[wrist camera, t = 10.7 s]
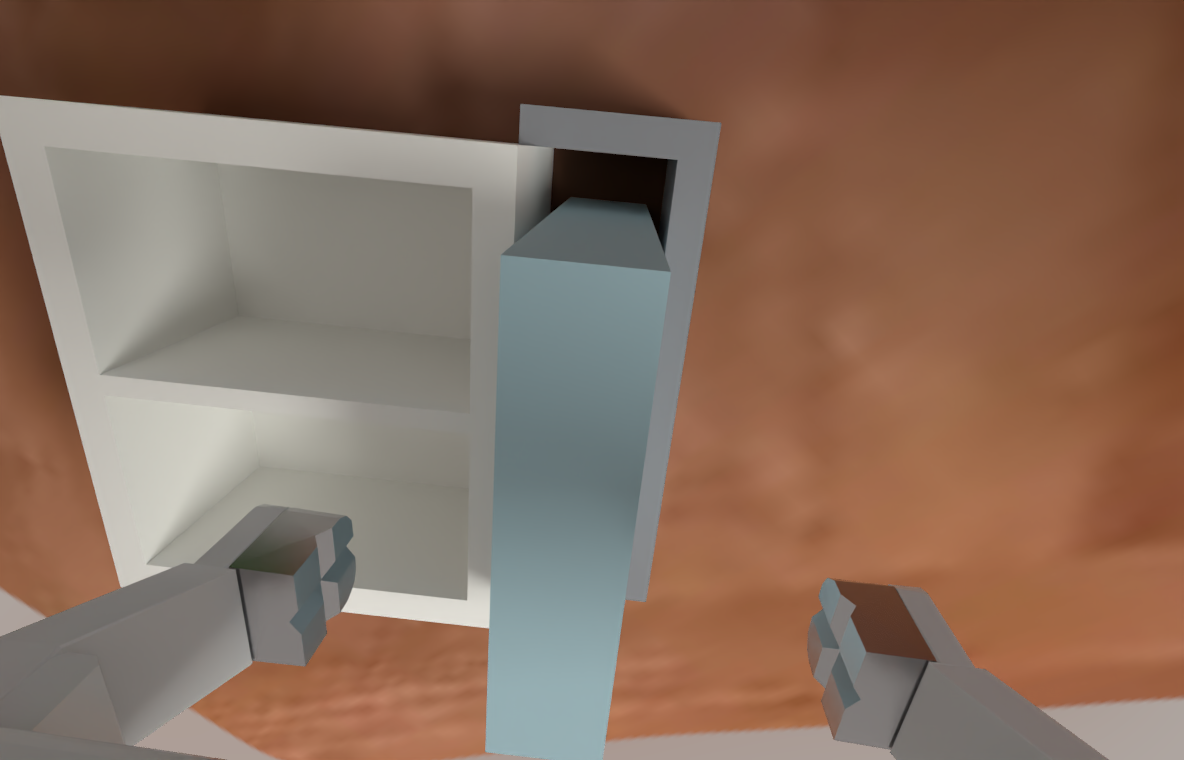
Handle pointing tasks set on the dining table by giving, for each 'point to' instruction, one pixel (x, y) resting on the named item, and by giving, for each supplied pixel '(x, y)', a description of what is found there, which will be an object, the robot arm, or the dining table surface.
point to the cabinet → (315, 324)
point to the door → (569, 469)
